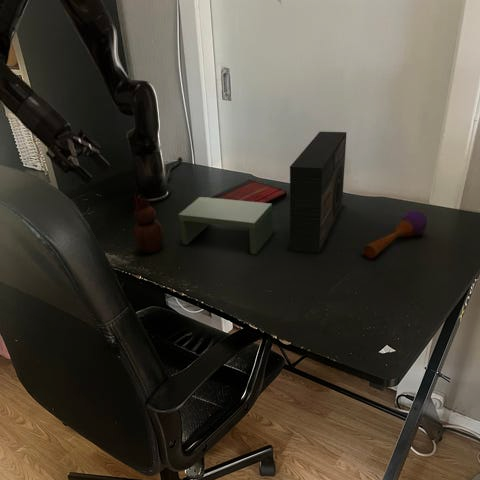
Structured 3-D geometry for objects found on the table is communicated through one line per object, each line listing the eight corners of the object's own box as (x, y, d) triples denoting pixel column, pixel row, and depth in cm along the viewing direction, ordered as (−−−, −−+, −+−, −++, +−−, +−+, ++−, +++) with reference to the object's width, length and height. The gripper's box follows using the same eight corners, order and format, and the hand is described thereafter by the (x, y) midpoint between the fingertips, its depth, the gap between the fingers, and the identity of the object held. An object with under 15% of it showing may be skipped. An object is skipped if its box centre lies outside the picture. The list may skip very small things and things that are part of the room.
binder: (202, 199, 140) (248, 178, 153) (202, 206, 142) (248, 185, 154) (244, 213, 131) (289, 189, 144) (244, 221, 133) (289, 197, 145)
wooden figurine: (142, 258, 117) (130, 198, 109) (135, 249, 121) (123, 191, 113) (168, 250, 119) (158, 192, 111) (160, 242, 124) (150, 185, 115)
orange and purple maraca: (357, 238, 110) (409, 205, 119) (360, 261, 112) (410, 228, 122) (378, 241, 105) (431, 207, 114) (381, 265, 108) (432, 231, 117)
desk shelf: (203, 225, 131) (200, 196, 126) (272, 233, 124) (272, 203, 119) (182, 244, 122) (178, 214, 117) (255, 254, 115) (254, 223, 110)
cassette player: (319, 253, 113) (321, 168, 102) (290, 250, 116) (289, 166, 104) (342, 206, 135) (346, 132, 124) (317, 204, 138) (319, 131, 126)
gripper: (32, 117, 101) (92, 174, 106) (67, 101, 112) (121, 154, 117) (17, 141, 106) (76, 195, 110) (53, 124, 117) (105, 174, 121)
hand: (99, 174), depth 113 cm, fingers open, 8 cm apart
